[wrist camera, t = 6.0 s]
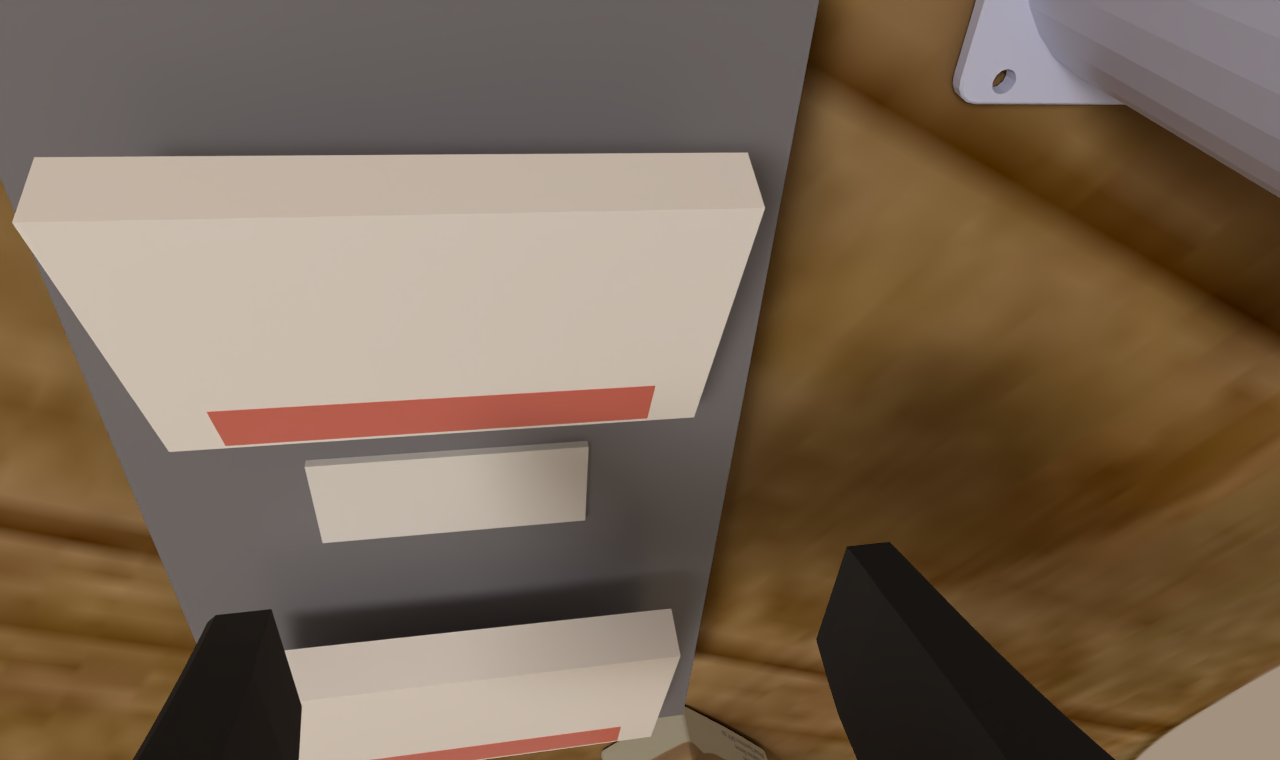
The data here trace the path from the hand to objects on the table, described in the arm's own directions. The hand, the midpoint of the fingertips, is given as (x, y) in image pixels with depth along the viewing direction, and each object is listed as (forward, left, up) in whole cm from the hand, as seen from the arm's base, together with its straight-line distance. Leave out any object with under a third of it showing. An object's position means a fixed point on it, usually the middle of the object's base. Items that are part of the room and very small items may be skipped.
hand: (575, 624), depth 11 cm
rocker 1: (+2, -1, -6) cm, 7 cm away
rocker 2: (+2, +11, -6) cm, 13 cm away
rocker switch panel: (+2, +5, -10) cm, 12 cm away
